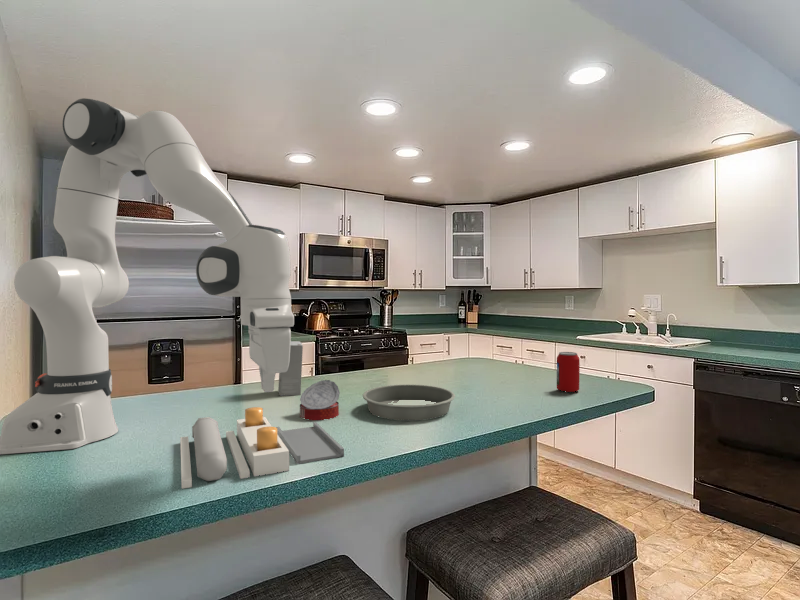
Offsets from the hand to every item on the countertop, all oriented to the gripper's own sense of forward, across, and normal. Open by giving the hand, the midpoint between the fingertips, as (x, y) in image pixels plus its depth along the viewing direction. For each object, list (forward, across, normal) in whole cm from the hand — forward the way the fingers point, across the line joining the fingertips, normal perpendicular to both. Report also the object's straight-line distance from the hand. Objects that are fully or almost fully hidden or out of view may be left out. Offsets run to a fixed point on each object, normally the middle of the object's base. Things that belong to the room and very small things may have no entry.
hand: (267, 390), depth 85 cm
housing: (+14, -8, -6) cm, 17 cm away
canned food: (+14, -29, +18) cm, 37 cm away
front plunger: (+11, 0, 0) cm, 11 cm away
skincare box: (+14, -58, +17) cm, 62 cm away
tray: (+14, -8, +9) cm, 18 cm away
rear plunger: (+11, -16, 0) cm, 19 cm away
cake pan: (+14, -24, +41) cm, 49 cm away
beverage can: (+14, -22, +96) cm, 99 cm away
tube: (+14, -8, -10) cm, 19 cm away
